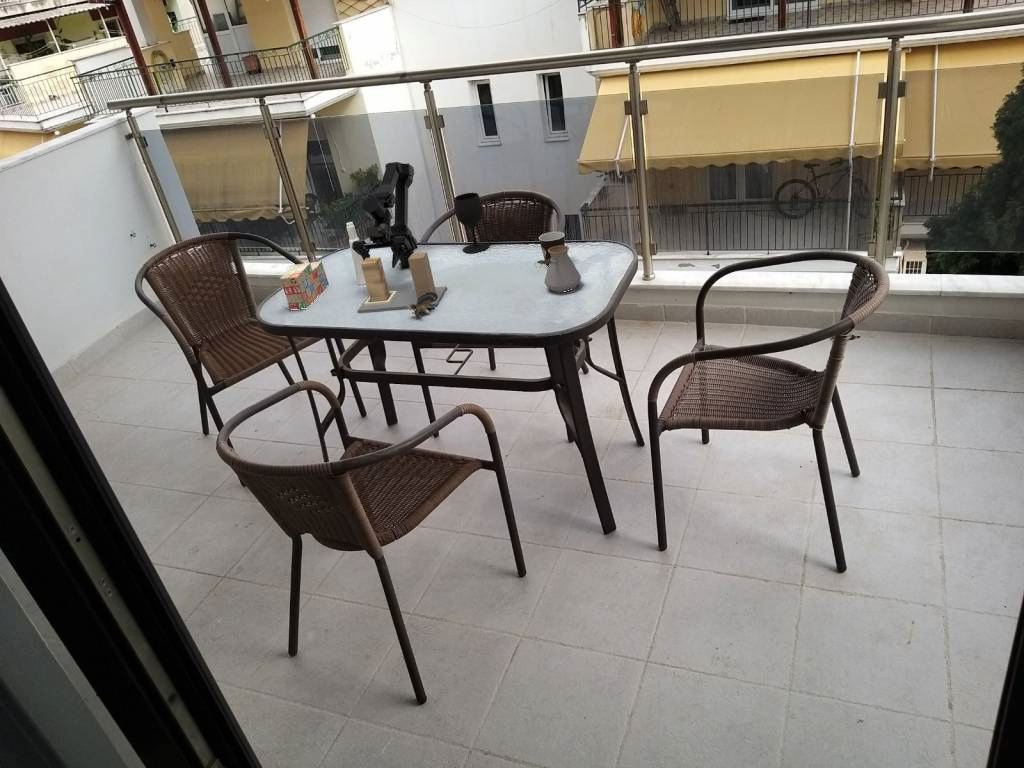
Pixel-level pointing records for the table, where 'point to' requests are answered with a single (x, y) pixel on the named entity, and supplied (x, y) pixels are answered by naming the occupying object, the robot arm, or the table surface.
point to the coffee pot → (560, 270)
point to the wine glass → (470, 218)
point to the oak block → (375, 279)
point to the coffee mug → (551, 242)
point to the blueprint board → (404, 297)
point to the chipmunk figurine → (423, 303)
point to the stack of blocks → (304, 284)
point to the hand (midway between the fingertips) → (380, 269)
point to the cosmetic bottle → (356, 257)
